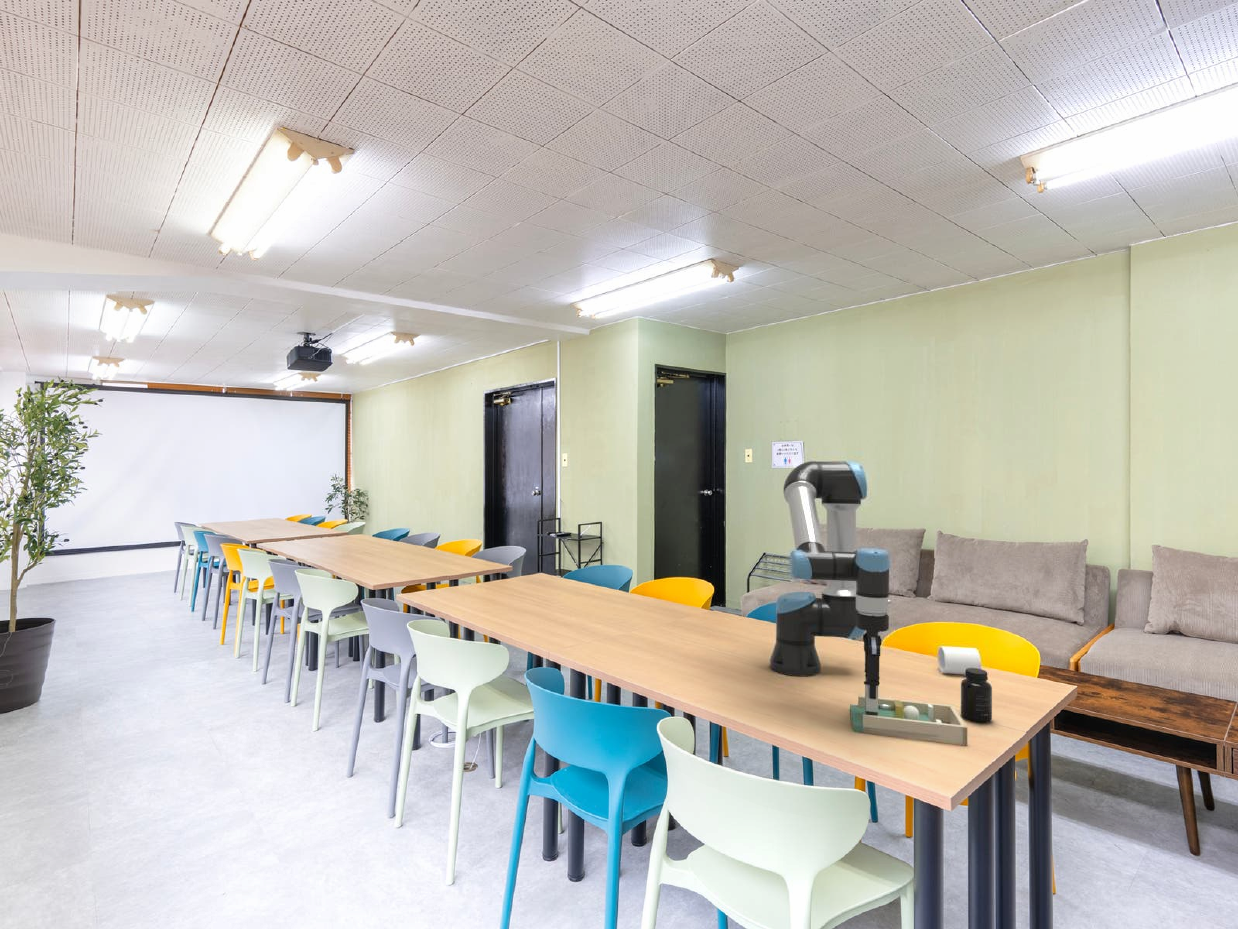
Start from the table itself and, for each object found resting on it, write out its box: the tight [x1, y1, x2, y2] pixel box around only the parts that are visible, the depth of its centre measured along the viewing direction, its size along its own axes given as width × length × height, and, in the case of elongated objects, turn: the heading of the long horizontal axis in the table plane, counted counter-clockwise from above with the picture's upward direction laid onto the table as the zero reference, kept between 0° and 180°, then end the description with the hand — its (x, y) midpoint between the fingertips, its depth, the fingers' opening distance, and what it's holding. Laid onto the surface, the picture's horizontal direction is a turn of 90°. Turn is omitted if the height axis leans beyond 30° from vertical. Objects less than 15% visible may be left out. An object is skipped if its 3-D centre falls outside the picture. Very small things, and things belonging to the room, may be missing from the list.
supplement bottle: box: [960, 668, 993, 724], centre depth 157 cm, size 7×7×12 cm
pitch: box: [849, 695, 968, 746], centre depth 151 cm, size 24×14×4 cm, turn 74°
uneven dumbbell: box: [864, 675, 903, 719], centre depth 153 cm, size 8×4×9 cm, turn 74°
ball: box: [903, 706, 919, 720], centre depth 151 cm, size 4×4×4 cm
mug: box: [937, 645, 982, 676], centre depth 194 cm, size 12×10×8 cm
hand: (871, 708), depth 154 cm, fingers closed on uneven dumbbell, 3 cm apart
